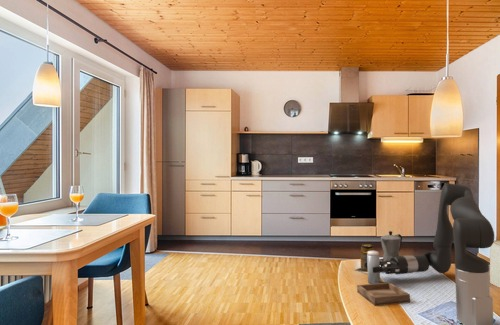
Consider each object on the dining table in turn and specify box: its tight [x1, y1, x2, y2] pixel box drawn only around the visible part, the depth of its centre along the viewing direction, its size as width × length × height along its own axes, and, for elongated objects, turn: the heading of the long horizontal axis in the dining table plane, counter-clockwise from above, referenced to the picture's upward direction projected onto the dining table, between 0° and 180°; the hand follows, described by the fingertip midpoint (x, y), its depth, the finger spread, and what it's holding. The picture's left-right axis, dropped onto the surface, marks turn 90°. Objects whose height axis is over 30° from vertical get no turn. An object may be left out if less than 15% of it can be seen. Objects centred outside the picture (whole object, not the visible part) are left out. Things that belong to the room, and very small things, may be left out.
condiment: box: [354, 243, 374, 275], centre depth 173 cm, size 7×8×12 cm
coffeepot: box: [380, 230, 403, 261], centre depth 176 cm, size 15×9×18 cm, turn 125°
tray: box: [356, 282, 411, 307], centre depth 139 cm, size 14×14×3 cm
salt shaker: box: [367, 250, 381, 284], centre depth 156 cm, size 5×5×13 cm
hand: (368, 267), depth 155 cm, fingers open, 7 cm apart
